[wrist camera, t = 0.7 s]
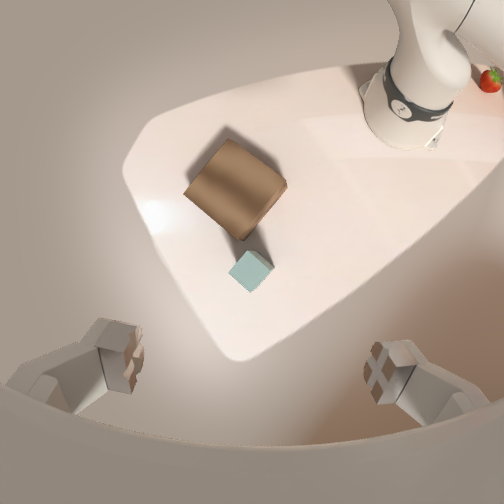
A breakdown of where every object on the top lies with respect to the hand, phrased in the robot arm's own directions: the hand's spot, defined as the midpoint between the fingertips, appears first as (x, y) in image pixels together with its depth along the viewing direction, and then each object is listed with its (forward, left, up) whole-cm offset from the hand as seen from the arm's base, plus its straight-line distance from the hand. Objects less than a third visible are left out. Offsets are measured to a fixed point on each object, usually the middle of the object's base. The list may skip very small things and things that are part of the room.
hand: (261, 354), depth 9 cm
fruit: (-63, +9, -41) cm, 76 cm away
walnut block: (-4, -16, -41) cm, 44 cm away
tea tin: (+4, -5, -40) cm, 41 cm away
